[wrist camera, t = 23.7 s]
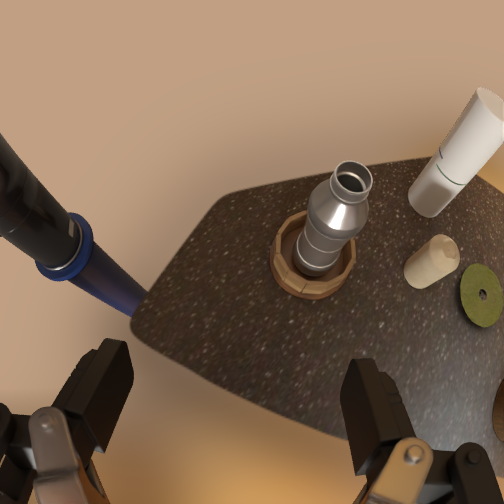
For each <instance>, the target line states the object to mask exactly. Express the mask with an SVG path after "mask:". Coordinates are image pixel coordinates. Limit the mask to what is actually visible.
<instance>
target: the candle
mask: <svg viewBox="0 0 504 504" xmlns="http://www.w3.org/2000/svg"><path fill="white" fill-rule="evenodd" d="M459 261H460V254H459V250H458V247H457V245H456V244H455V242H454V241H453V240H452V239H451V238H449V237H448V236H446V235H436V236H434V237H433V238H432V239H431V240H430V241H429V242H427V243H426V244H425V245H424V246H423V247H422V248H420V249H419V250H418V251H417V252H416V253H415V254H413V255H412V256H411V257H410V258H409V259H408V260H407V261H406V263H405V265H404V276H405V278H406V280H407V282H408V283H409V284H410V285H411V286H412V287H414V288H417V289H422V288H425V287H427V286H429V285H431V284H432V283H434V282H436V281H437V280H439V279H441V278H442V277H444V276H446V275H447V274H449V273H450V272H452V271H454V270H455V269H456V268H457V267H458V265H459Z"/></svg>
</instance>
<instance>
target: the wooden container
mask: <svg viewBox="0 0 504 504" xmlns="http://www.w3.org/2000/svg"><path fill="white" fill-rule="evenodd" d="M493 425H494V430H495V433H496V435H497V437H498V438H499V439H500V440H502V441H504V380H503V382H502V383H501V385H500V388H499V390H498V393H497V396H496V399H495V404H494V410H493Z"/></svg>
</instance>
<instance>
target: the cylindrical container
mask: <svg viewBox="0 0 504 504" xmlns="http://www.w3.org/2000/svg"><path fill="white" fill-rule="evenodd" d="M503 142H504V101H503V100H502V99H501V98H500V97H498V95H496V94H495V93H493V92H492V91H490V90H488V89H486V88H483V87H479V88H477V90H476V91H475V93H474V95H473V96H472V98H471V99H470V101H469V103H468V104H467V106H466V107H465V109H464V111H463V112H462V114H461V115H460V117H459V118H458V120H457V121H456V123H455V125H454V126H453V128H452V129H451V131H450V132H449V134H448V135H447V136H446V138H445V139H444V141H443V142H442V144H441V146H440V147H439V148H438V150H437V151H436V152H435V154H434V155H433V157H432V158H431V160H430V161H429V162H428V164H427V165H426V167H425V168H424V169H423V171H422V172H421V173H420V175H419V176H418V178H417V179H416V180H415V182H414V183H413V184H412V186H411V187H410V188H409V191H408V199H409V202H410V204H411V206H412V207H413V209H414V210H415V211H416V212H417V213H419V214H420V215H422V216H424V217H427V218H432V217H435V216H436V215H438V214H439V213H440V212H441V211H442V210H443V209H444V207H445V206H446V205H447V204H448V203H449V202H450V201H451V200H452V199H453V198H454V197H455V196H456V195H457V194H458V193H459V192H460V191H461V190H462V189H463V188H464V186H465V185H466V184H467V183H468V182H469V181H470V180H471V179H472V178H473V177H474V176H475V174H476V173H477V172H478V171H479V170H480V169H481V168H482V167H483V165H484V164H485V163H486V162H487V161H488V160H489V159H490V157H491V156H492V155H493V154H494V153H495V151H496V150H497V149H498V148H499V147H500V146H501V144H502V143H503Z"/></svg>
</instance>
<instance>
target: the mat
mask: <svg viewBox="0 0 504 504" xmlns="http://www.w3.org/2000/svg"><path fill="white" fill-rule="evenodd" d="M460 294H461V301H462V305H463V307H464V310H465V312H466V314H467V315H468V317H469V318H470V319H471V321H473V322H474V323H475V324H476V325H479V326H481V327H489V326H492V325H493V324H494V323H496V322H497V320H498V319H499V317H500V315H501V312H502V308H503V293H502V289H501V285H500V283H499V280H498V278H497V277H496V275H495V274H494V273H493V272H492V270H490V268H488V267H487V266H485V265H483V264H472V265H471V266H469V267H468V268H467V269H466V270H465V272H464V274H463V276H462V279H461V286H460Z"/></svg>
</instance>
